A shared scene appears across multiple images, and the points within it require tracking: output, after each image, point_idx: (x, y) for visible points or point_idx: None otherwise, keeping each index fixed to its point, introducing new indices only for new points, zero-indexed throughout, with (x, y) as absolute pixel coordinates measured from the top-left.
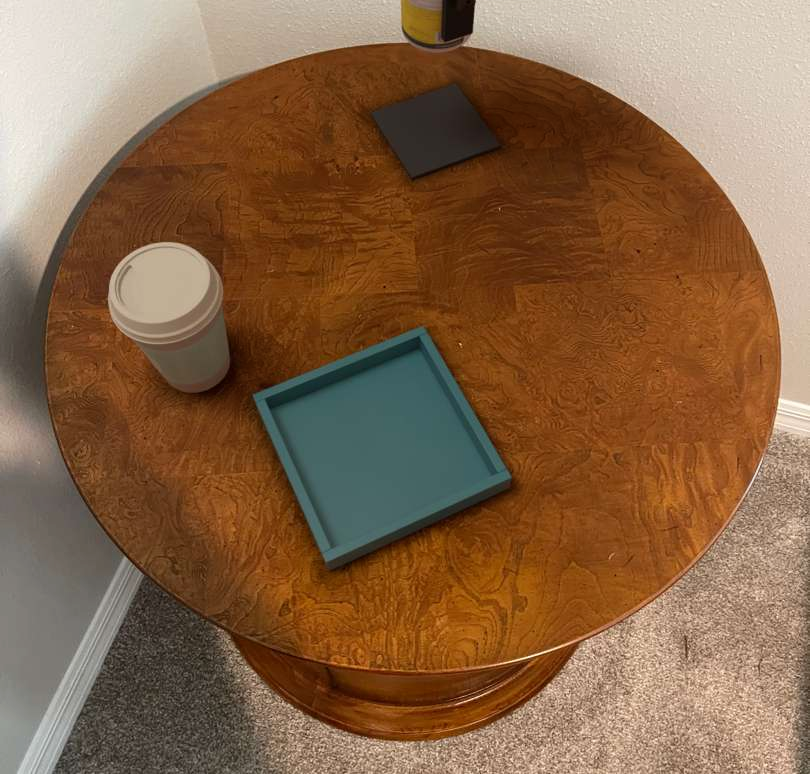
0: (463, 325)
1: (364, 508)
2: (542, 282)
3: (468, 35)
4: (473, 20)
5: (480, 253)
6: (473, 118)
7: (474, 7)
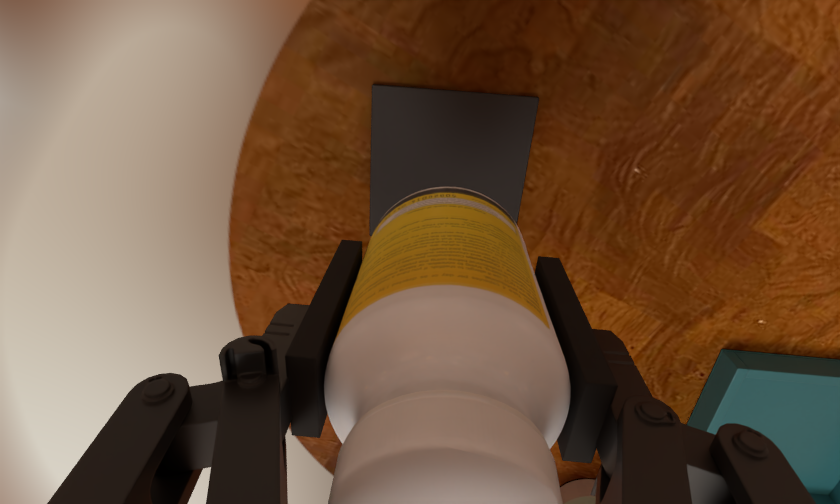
0: (744, 306)
1: (818, 464)
2: (781, 192)
3: (520, 232)
4: (565, 275)
5: (678, 234)
6: (461, 104)
7: (575, 295)
